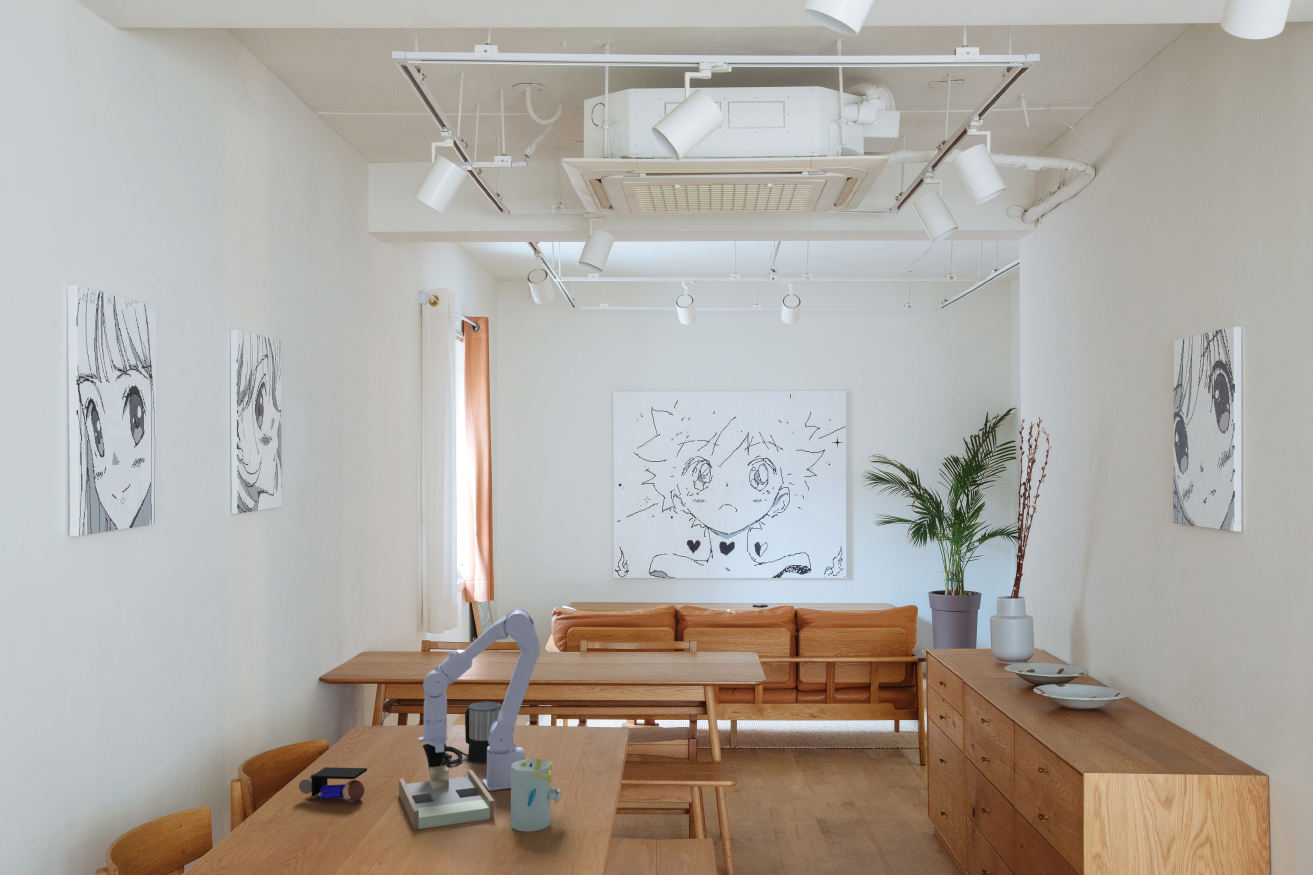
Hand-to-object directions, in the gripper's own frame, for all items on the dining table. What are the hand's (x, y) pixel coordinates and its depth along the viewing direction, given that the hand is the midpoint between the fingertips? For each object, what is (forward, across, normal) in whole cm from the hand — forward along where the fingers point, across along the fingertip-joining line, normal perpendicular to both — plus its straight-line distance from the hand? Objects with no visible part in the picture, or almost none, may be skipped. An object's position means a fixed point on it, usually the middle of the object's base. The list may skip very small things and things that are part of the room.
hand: (434, 773), depth 233 cm
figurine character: (+4, 0, -24) cm, 24 cm away
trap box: (+3, +14, 0) cm, 15 cm away
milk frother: (+4, -18, +13) cm, 23 cm away
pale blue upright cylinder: (+4, +33, +17) cm, 38 cm away
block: (+1, +6, 0) cm, 7 cm away
